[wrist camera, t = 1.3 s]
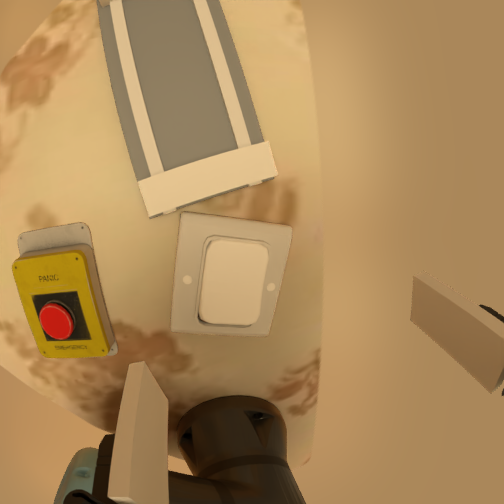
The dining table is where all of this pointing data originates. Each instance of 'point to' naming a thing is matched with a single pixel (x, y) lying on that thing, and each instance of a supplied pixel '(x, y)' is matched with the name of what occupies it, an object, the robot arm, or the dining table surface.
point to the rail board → (182, 101)
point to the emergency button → (63, 293)
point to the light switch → (227, 275)
